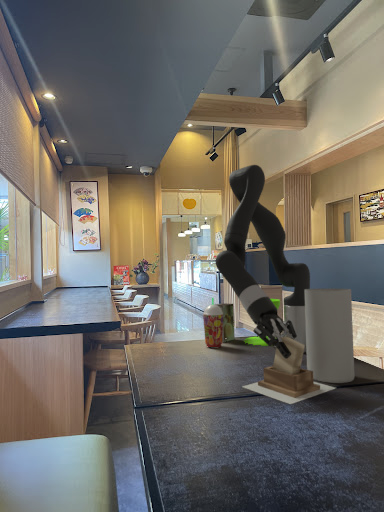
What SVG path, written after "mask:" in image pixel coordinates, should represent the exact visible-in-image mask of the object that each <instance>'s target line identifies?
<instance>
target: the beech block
mask: <svg viewBox="0 0 384 512" xmlns="http://www.w3.org/2000/svg"><path fill="white" fill-rule="evenodd" d="M281 339H282V342H284V344H285V345H286V346H287V348H288V349H289V351H290V352H291V355H290V357H289V358H287V359H285V358H284V357H283V356H282V354H281V353H280V351H279V350H278V349H277V347H275V352H274V353H275V354H274V358H273V365H272V366H273V370H277V371H280V372H284V373H288V374H291V375H296V374H299V373H300V368H302V362H303V356H304V353H305V352H304V346H305V345H303V344H301V343H299V342H297V341H295V340H293V339H291V338H289V337H287V336H286V337H281Z"/></svg>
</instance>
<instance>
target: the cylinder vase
mask: <svg viewBox="0 0 384 512" xmlns="http://www.w3.org/2000/svg"><path fill="white" fill-rule="evenodd" d="M305 319H306V349H307V352H306V370H310V371H313V381H316V382H317V381H318V382H322V383H330V384H345V383H350V382H353V381H354V380H355V357H354V355H355V353H354V330H353V305H352V289H350V288H333V287H331V288H310V289H305Z"/></svg>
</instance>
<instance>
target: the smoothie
mask: <svg viewBox="0 0 384 512" xmlns="http://www.w3.org/2000/svg"><path fill="white" fill-rule="evenodd" d="M214 299H215V298H214V297H211V303H210V305H207V306H206V308H205V309H204V310H203V313H202V317H203V329H204V341H205V342H204V343H205V345H206V347H207V346H208V347H219V348H221V347H222V344H223V342H222V333H223V312H222V310H221V308H220V307H219V306H217V305H215V304H216V303H215V304H214ZM208 347H207V348H208Z"/></svg>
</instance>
